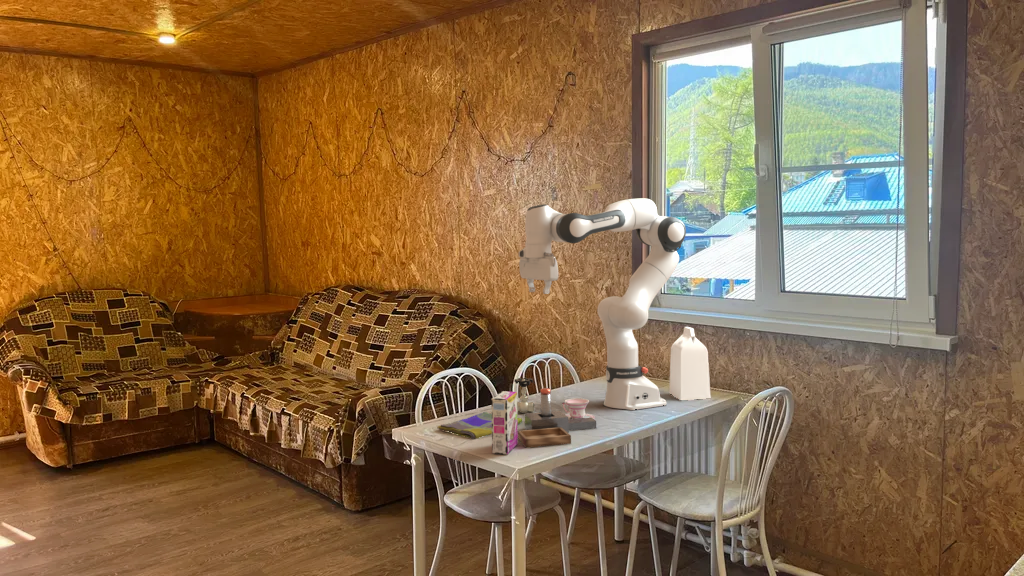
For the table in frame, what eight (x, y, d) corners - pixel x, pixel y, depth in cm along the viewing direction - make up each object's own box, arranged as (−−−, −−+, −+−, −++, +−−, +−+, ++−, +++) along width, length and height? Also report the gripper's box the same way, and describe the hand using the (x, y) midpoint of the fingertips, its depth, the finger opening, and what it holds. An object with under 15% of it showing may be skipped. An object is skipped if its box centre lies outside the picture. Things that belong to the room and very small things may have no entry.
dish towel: (525, 425, 257) (524, 417, 257) (472, 441, 239) (471, 433, 239) (488, 417, 269) (487, 409, 269) (435, 432, 251) (434, 424, 251)
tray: (561, 435, 242) (561, 427, 242) (571, 443, 232) (570, 435, 232) (518, 439, 239) (517, 431, 239) (525, 447, 229) (525, 439, 229)
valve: (532, 415, 268) (531, 381, 267) (513, 415, 269) (512, 381, 268) (535, 411, 274) (534, 377, 273) (517, 410, 276) (516, 377, 275)
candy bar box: (508, 455, 222) (506, 399, 221) (491, 454, 224) (490, 398, 222) (519, 444, 233) (517, 390, 232) (503, 443, 234) (501, 390, 233)
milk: (710, 399, 285) (710, 329, 283) (680, 400, 283) (680, 330, 281) (697, 392, 297) (697, 325, 295) (669, 394, 295) (668, 326, 293)
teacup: (596, 414, 267) (596, 397, 266) (592, 423, 255) (592, 405, 255) (561, 414, 269) (561, 396, 269) (556, 423, 258) (556, 404, 257)
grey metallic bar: (549, 428, 250) (549, 387, 248) (552, 431, 246) (551, 389, 245) (540, 429, 249) (539, 388, 248) (543, 432, 246) (542, 390, 245)
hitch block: (589, 422, 256) (589, 408, 255) (598, 429, 247) (598, 414, 246) (524, 428, 251) (524, 413, 250) (532, 435, 242) (531, 420, 241)
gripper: (562, 252, 256) (563, 294, 257) (531, 251, 274) (532, 290, 275) (546, 253, 253) (547, 295, 254) (515, 252, 271) (516, 291, 272)
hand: (539, 292), depth 264 cm, fingers open, 8 cm apart
